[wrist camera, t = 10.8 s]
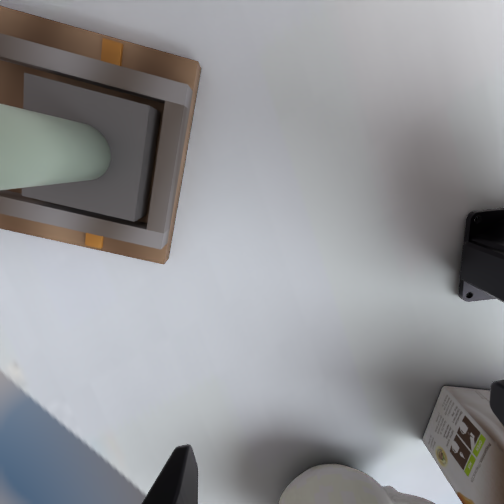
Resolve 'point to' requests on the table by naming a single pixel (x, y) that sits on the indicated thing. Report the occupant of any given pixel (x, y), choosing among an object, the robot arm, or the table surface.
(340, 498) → the teacup
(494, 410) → the robot arm
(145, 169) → the fader knob
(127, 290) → the table surface
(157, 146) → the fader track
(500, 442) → the coffee box
